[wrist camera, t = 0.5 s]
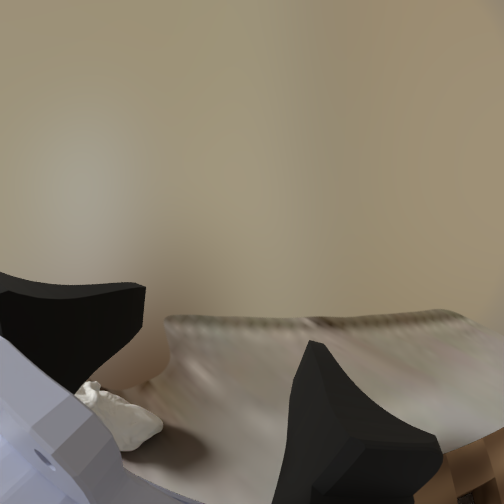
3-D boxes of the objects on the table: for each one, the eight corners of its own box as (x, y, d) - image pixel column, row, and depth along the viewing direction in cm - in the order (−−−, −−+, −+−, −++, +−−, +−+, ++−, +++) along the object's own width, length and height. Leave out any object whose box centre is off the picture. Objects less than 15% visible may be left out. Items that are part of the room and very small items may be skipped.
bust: (86, 429, 24) (18, 431, 14) (89, 372, 27) (20, 357, 17) (174, 456, 22) (117, 485, 12) (177, 391, 26) (118, 392, 15)
